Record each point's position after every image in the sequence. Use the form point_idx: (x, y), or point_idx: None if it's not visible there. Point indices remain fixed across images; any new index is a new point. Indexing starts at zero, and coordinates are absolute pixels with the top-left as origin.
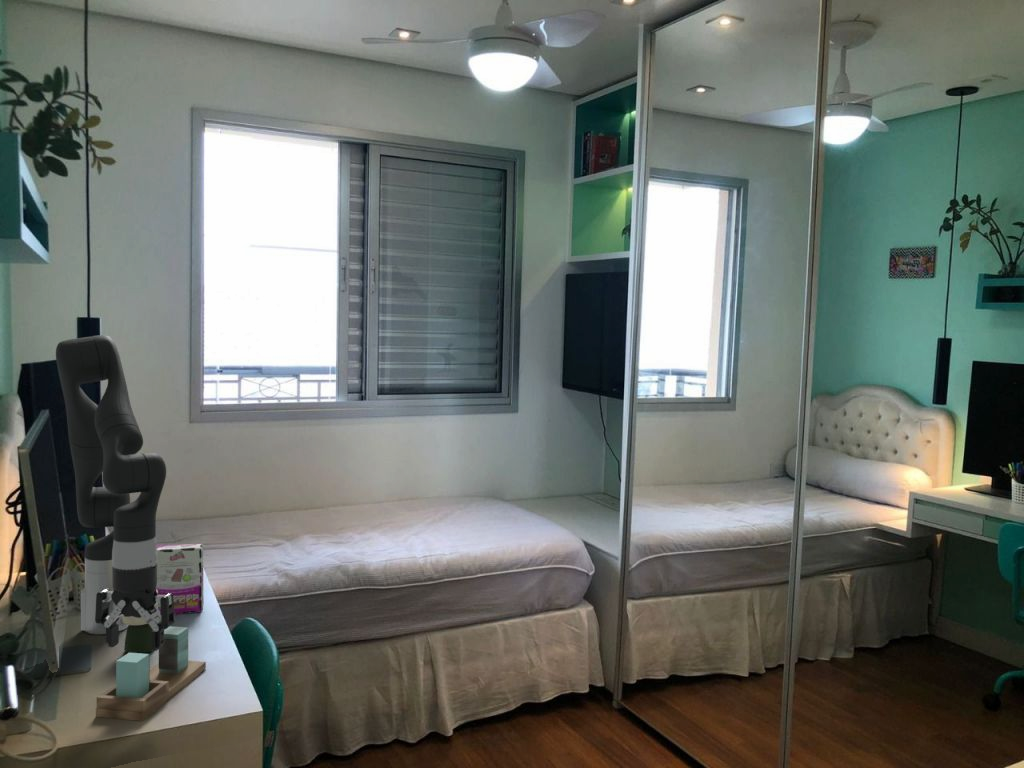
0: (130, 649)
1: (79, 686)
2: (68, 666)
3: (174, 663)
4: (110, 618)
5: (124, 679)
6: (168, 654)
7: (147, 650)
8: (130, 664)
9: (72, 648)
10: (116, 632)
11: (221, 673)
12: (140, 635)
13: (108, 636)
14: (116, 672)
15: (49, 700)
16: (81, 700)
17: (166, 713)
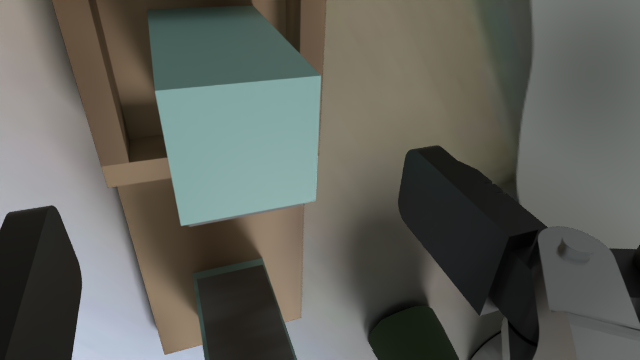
0: (416, 312)
1: (459, 133)
2: None
3: (205, 296)
4: (609, 313)
5: (234, 42)
6: (235, 317)
7: (377, 328)
8: (207, 79)
9: None
10: (449, 249)
11: (88, 339)
12: (413, 355)
13: (482, 185)
14: (294, 50)
15: (508, 27)
16: (415, 53)
17: (2, 31)
